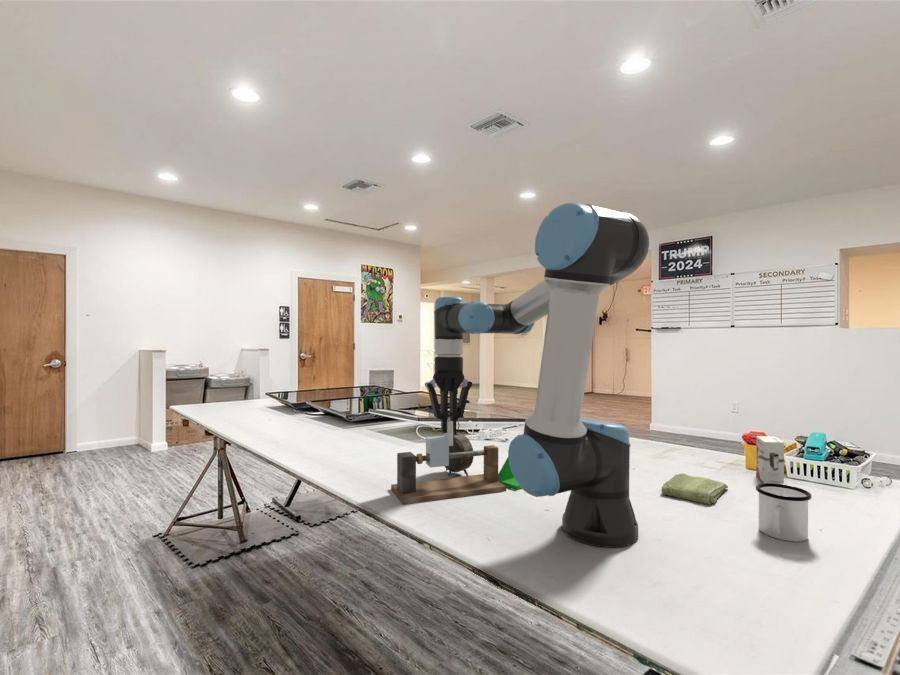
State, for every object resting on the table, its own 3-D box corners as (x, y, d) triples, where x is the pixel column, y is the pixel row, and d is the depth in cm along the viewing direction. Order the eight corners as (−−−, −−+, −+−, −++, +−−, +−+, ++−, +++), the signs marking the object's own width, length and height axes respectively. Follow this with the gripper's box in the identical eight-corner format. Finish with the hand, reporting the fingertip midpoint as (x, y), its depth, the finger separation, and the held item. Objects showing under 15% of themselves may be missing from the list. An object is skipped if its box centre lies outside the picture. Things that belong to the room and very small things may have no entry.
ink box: (755, 474, 139) (755, 435, 139) (774, 476, 137) (774, 436, 137) (764, 483, 130) (764, 441, 130) (784, 485, 129) (785, 442, 129)
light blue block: (443, 461, 126) (443, 435, 126) (448, 465, 122) (448, 438, 122) (425, 463, 124) (425, 437, 124) (430, 467, 120) (430, 440, 120)
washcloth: (729, 490, 126) (729, 478, 126) (713, 508, 113) (713, 495, 113) (677, 480, 135) (677, 469, 135) (656, 496, 121) (656, 483, 121)
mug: (760, 520, 104) (760, 480, 104) (814, 533, 97) (814, 489, 97) (747, 537, 95) (748, 493, 95) (805, 552, 89) (806, 504, 89)
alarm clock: (474, 476, 136) (474, 420, 136) (461, 480, 132) (461, 423, 132) (448, 469, 144) (448, 416, 144) (435, 472, 140) (435, 418, 140)
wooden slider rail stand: (486, 477, 135) (486, 441, 135) (506, 490, 124) (506, 451, 124) (391, 489, 125) (391, 450, 125) (403, 504, 114) (403, 461, 114)
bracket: (517, 491, 124) (517, 465, 124) (495, 484, 130) (495, 460, 130) (544, 482, 132) (544, 457, 132) (522, 476, 138) (522, 452, 138)
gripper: (466, 354, 130) (465, 439, 130) (421, 355, 126) (420, 443, 126) (477, 356, 123) (476, 445, 123) (429, 356, 119) (429, 450, 119)
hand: (448, 444), depth 124 cm, fingers closed
